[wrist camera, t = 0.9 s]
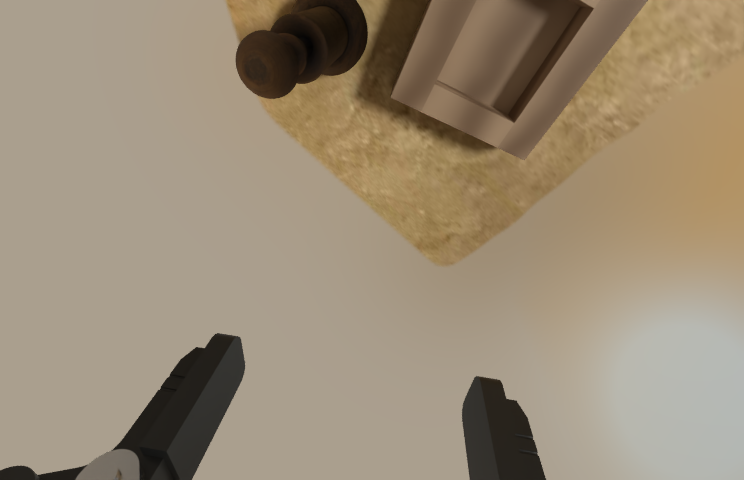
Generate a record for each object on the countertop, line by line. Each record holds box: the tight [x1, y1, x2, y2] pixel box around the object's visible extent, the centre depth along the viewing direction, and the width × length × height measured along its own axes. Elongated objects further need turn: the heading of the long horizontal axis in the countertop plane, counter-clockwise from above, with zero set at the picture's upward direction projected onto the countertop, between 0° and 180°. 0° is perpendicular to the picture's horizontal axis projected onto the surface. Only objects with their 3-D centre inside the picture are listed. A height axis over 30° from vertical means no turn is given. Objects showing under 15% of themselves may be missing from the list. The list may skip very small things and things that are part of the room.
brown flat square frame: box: [390, 0, 648, 160], centre depth 27 cm, size 14×14×4 cm
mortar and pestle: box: [236, 0, 368, 99], centre depth 22 cm, size 7×6×18 cm
